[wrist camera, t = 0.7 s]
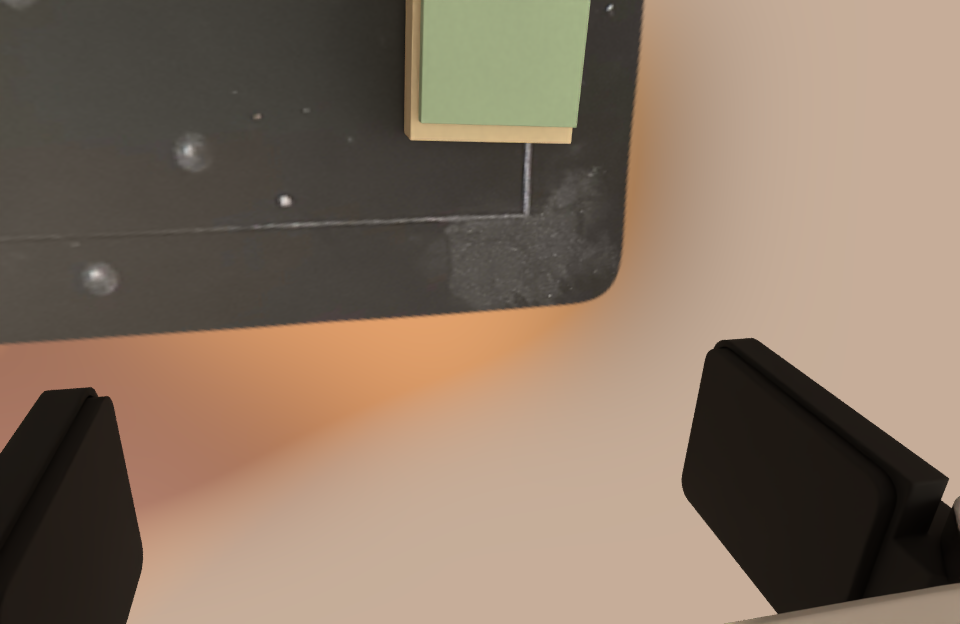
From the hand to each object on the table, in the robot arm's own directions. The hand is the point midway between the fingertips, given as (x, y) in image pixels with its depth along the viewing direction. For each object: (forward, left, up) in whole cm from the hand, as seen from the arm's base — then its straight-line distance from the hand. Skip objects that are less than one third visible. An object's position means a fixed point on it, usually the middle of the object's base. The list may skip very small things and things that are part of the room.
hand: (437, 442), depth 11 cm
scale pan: (-8, +7, -24) cm, 26 cm away
